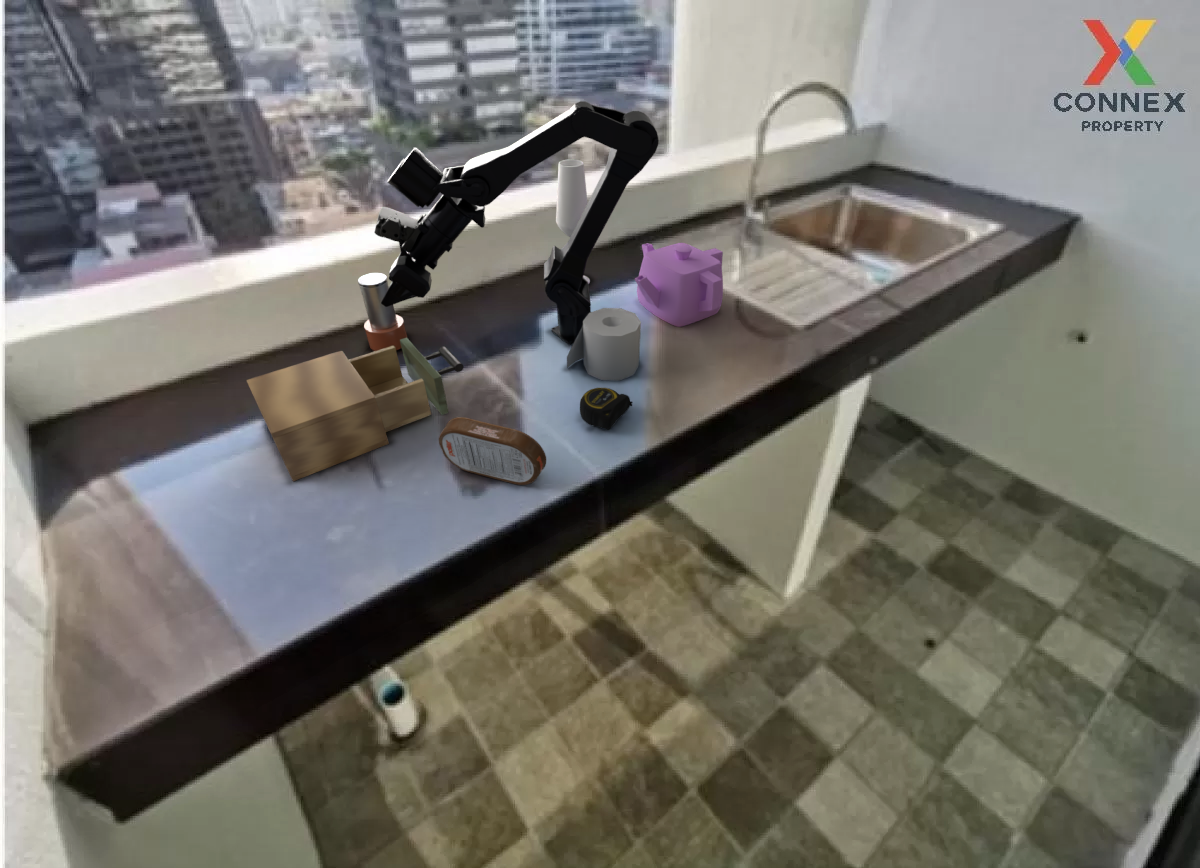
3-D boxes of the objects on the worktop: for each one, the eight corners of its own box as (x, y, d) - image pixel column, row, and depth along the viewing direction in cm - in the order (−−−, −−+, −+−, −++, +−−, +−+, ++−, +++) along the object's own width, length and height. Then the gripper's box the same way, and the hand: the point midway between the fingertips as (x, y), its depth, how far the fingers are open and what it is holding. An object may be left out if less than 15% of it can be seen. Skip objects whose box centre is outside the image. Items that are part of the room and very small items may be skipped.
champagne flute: (580, 271, 133) (577, 155, 117) (596, 283, 128) (595, 164, 113) (553, 278, 130) (546, 161, 115) (568, 291, 126) (564, 170, 110)
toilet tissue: (555, 368, 104) (553, 324, 98) (618, 345, 109) (619, 302, 104) (584, 394, 98) (583, 349, 92) (649, 368, 104) (651, 324, 98)
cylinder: (401, 324, 107) (390, 280, 102) (375, 332, 105) (363, 287, 100) (391, 314, 110) (380, 270, 105) (366, 321, 108) (353, 277, 102)
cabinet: (356, 395, 98) (341, 350, 92) (389, 443, 89) (375, 396, 83) (267, 426, 92) (246, 380, 86) (293, 481, 83) (270, 433, 77)
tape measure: (608, 437, 90) (609, 418, 87) (571, 421, 93) (570, 402, 90) (632, 413, 94) (633, 394, 92) (595, 399, 97) (595, 380, 95)
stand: (413, 344, 110) (409, 325, 107) (377, 356, 106) (371, 337, 104) (399, 329, 114) (395, 310, 111) (364, 340, 111) (358, 320, 108)
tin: (549, 479, 83) (545, 432, 78) (539, 494, 81) (535, 447, 75) (452, 455, 87) (442, 408, 81) (441, 469, 85) (430, 422, 79)
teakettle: (719, 332, 113) (728, 270, 105) (629, 324, 115) (632, 263, 107) (721, 290, 126) (729, 232, 118) (640, 284, 128) (643, 226, 120)
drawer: (442, 362, 103) (435, 328, 99) (478, 401, 95) (472, 365, 91) (340, 398, 96) (327, 362, 91) (369, 443, 87) (357, 406, 83)
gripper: (405, 172, 101) (354, 240, 107) (391, 213, 87) (332, 288, 93) (460, 217, 107) (408, 279, 113) (454, 262, 93) (396, 330, 98)
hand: (387, 292), depth 104 cm, fingers open, 9 cm apart
